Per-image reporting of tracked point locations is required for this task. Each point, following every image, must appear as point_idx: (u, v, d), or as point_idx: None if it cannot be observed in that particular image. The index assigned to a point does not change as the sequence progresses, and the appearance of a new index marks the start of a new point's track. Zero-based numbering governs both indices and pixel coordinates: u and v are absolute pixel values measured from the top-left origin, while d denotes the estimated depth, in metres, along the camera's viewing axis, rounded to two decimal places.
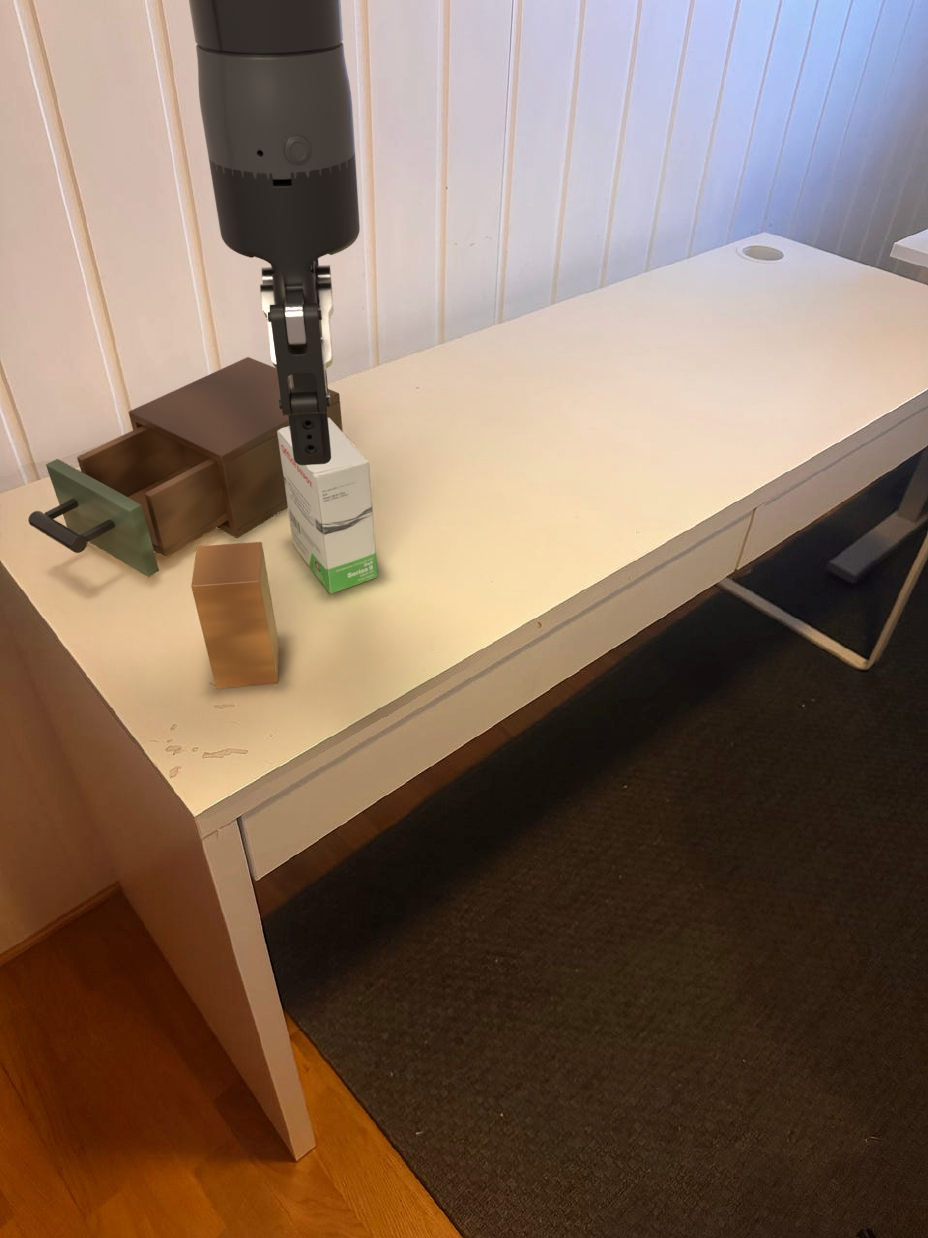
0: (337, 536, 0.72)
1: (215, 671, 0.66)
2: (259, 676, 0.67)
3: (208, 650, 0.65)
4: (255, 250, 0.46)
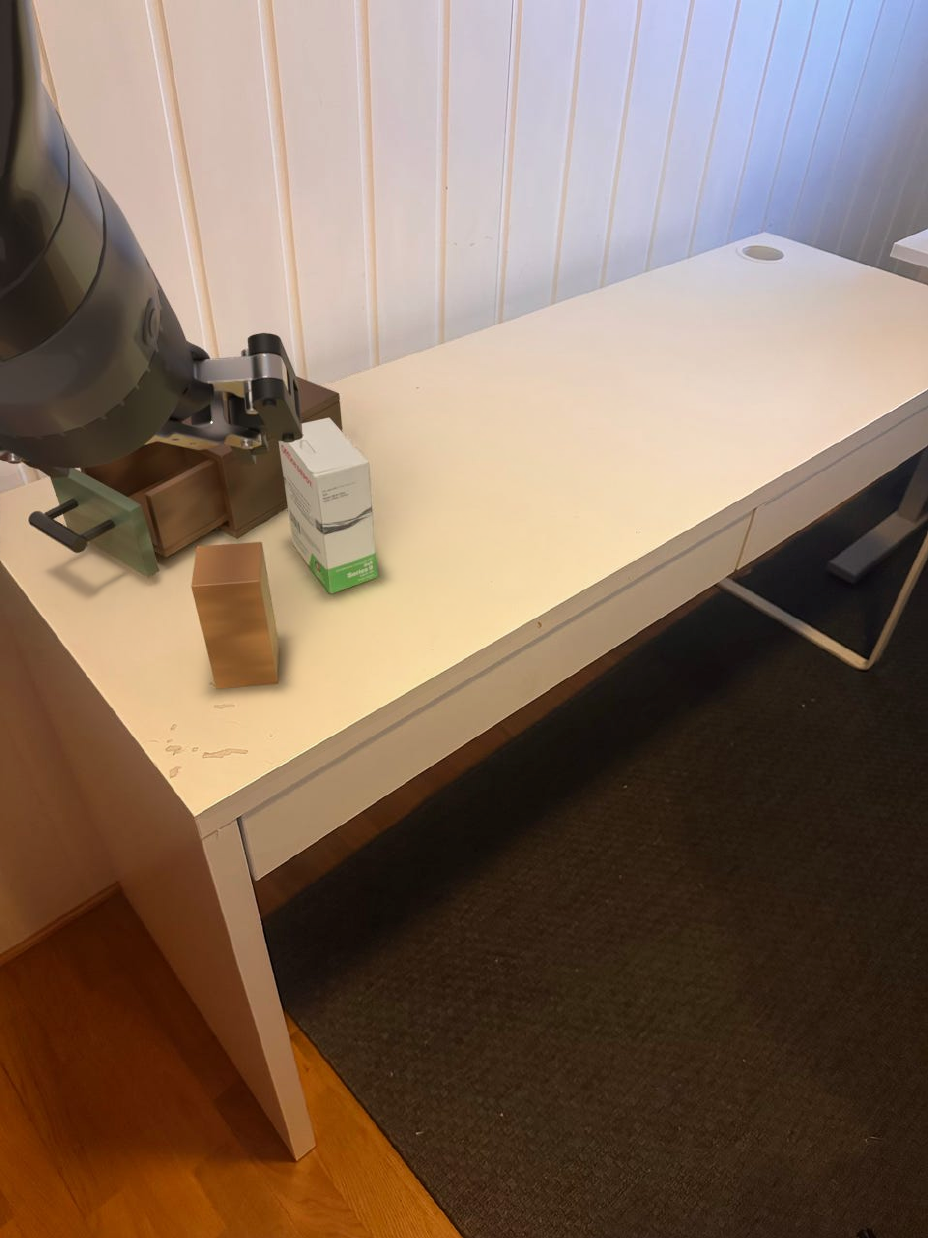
0: (337, 537, 0.72)
1: (215, 671, 0.66)
2: (259, 676, 0.67)
3: (208, 650, 0.65)
4: None
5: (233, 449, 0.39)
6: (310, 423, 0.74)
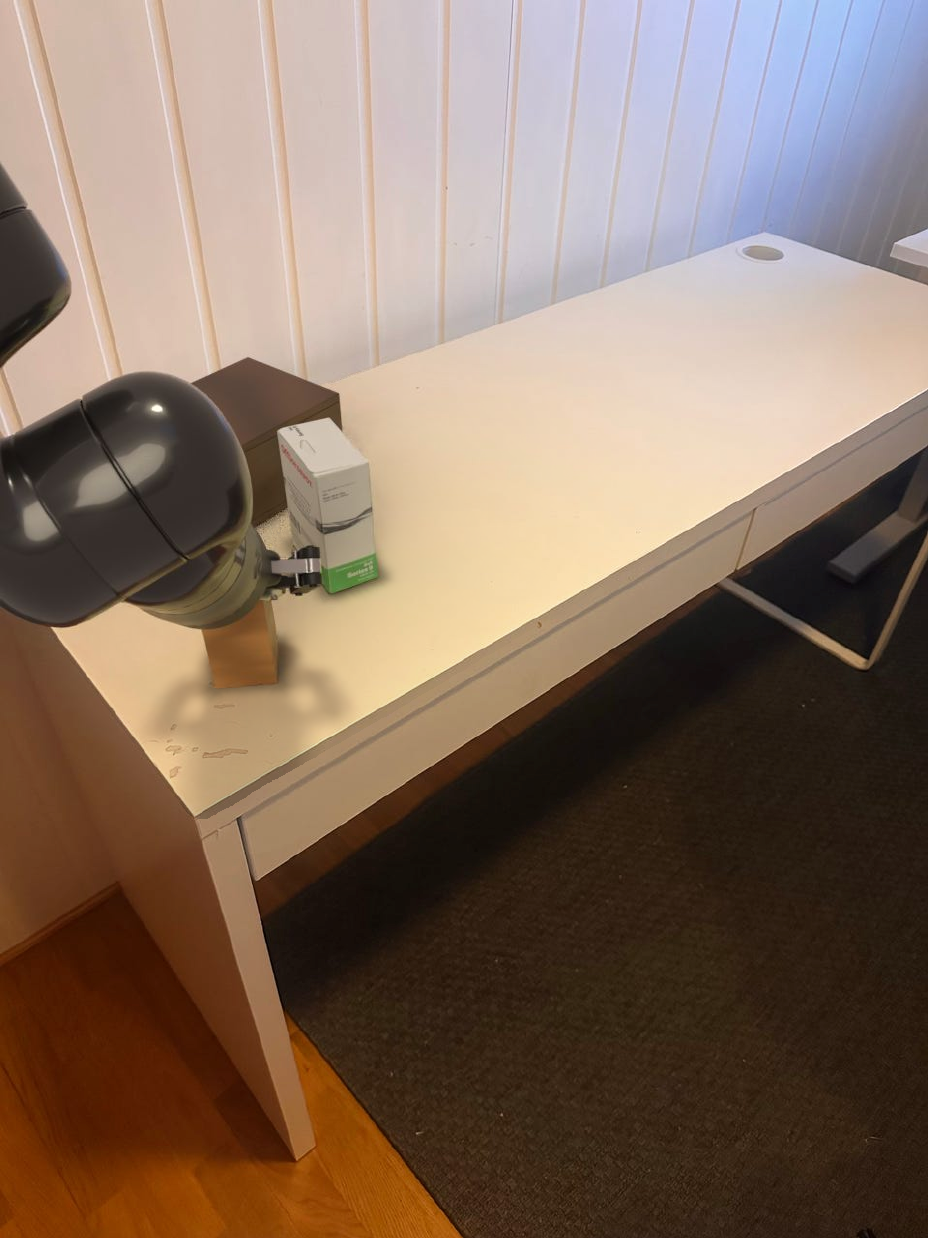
0: (337, 536, 0.72)
1: (214, 671, 0.66)
2: (258, 676, 0.67)
3: (208, 650, 0.65)
4: None
5: None
6: (310, 423, 0.74)
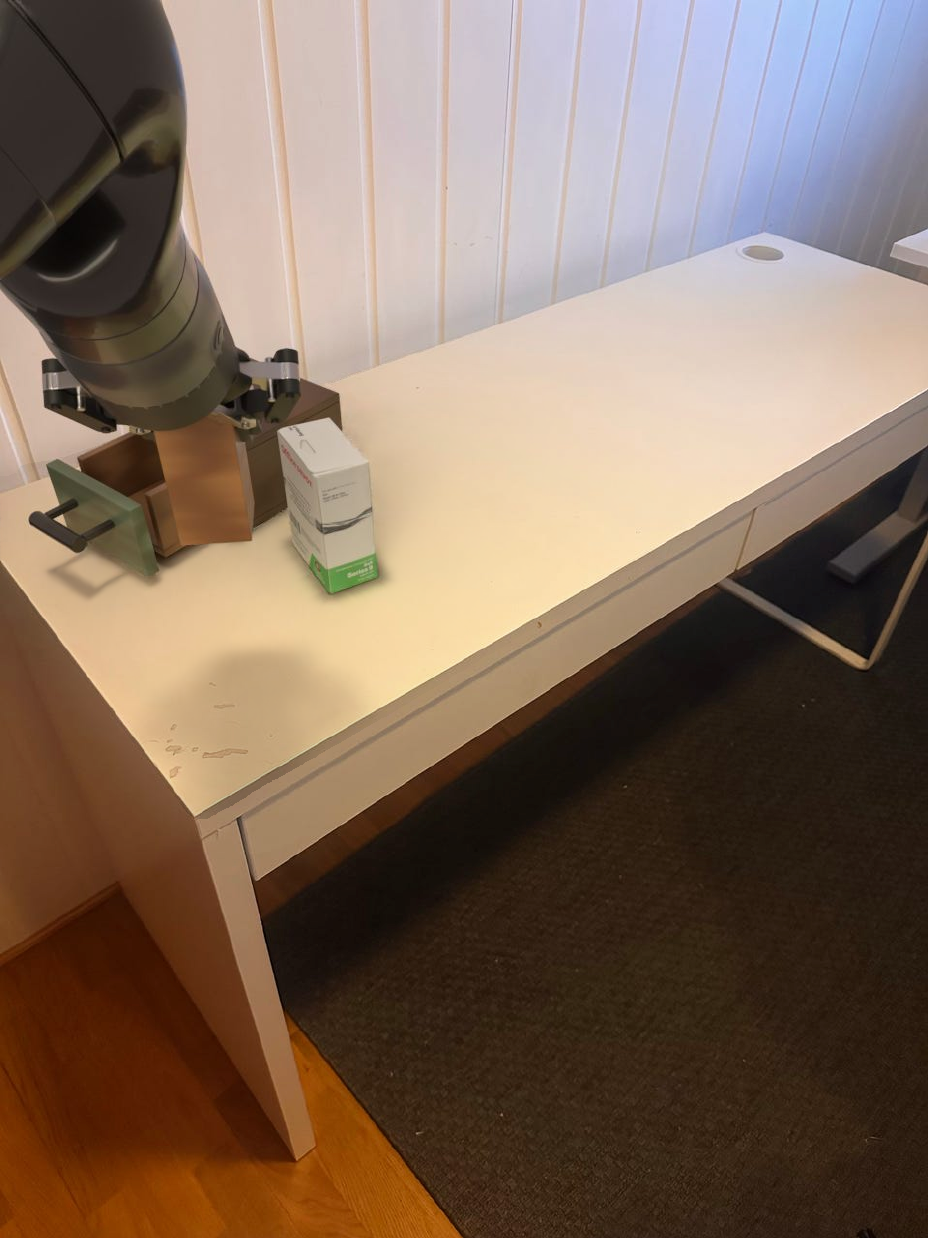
0: (337, 537, 0.72)
1: (179, 522, 0.57)
2: (230, 530, 0.58)
3: (170, 494, 0.56)
4: None
5: (236, 429, 0.55)
6: (310, 423, 0.74)
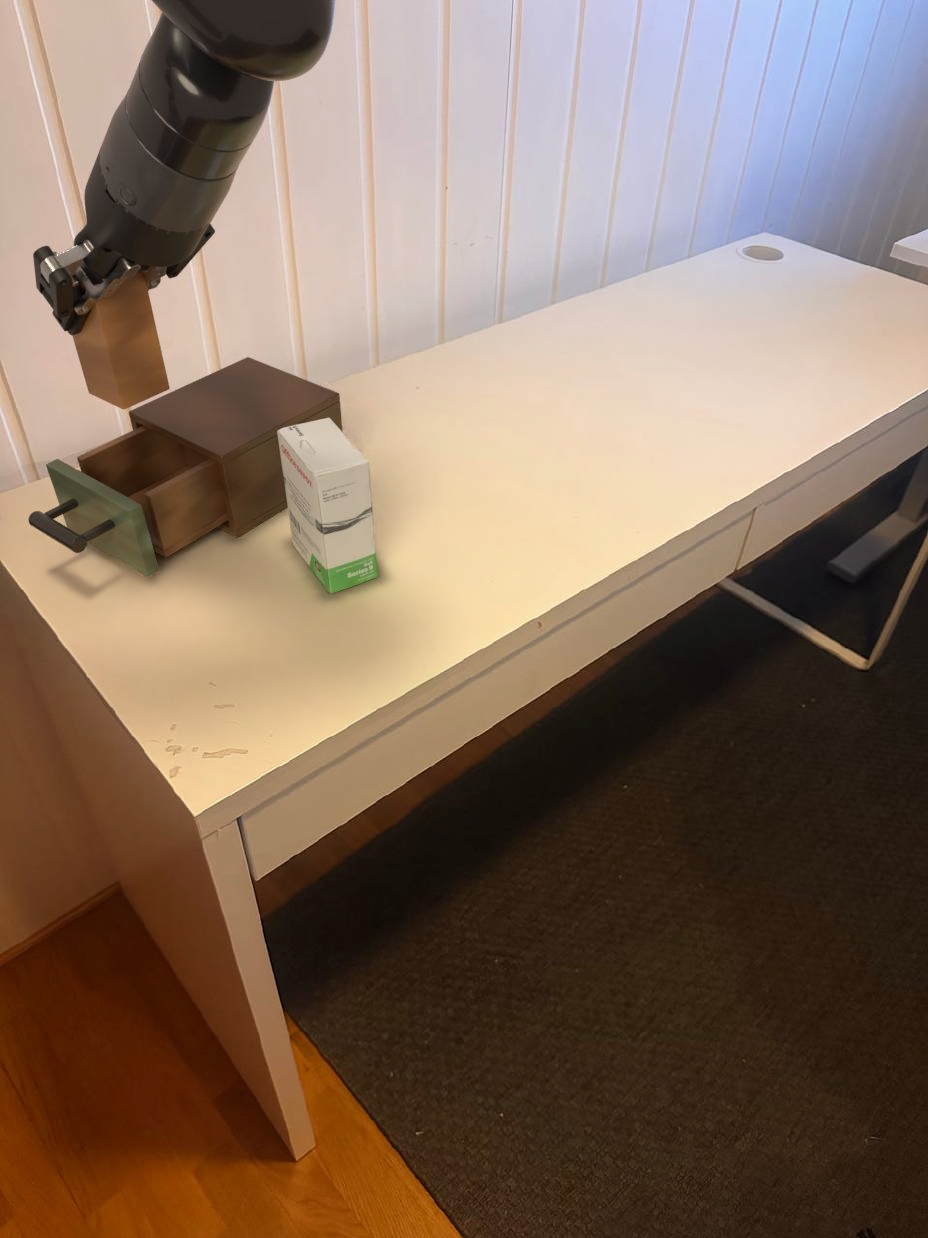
0: (337, 537, 0.72)
1: (121, 387, 0.70)
2: (155, 383, 0.72)
3: (112, 362, 0.68)
4: (85, 202, 0.58)
5: None
6: (310, 423, 0.74)
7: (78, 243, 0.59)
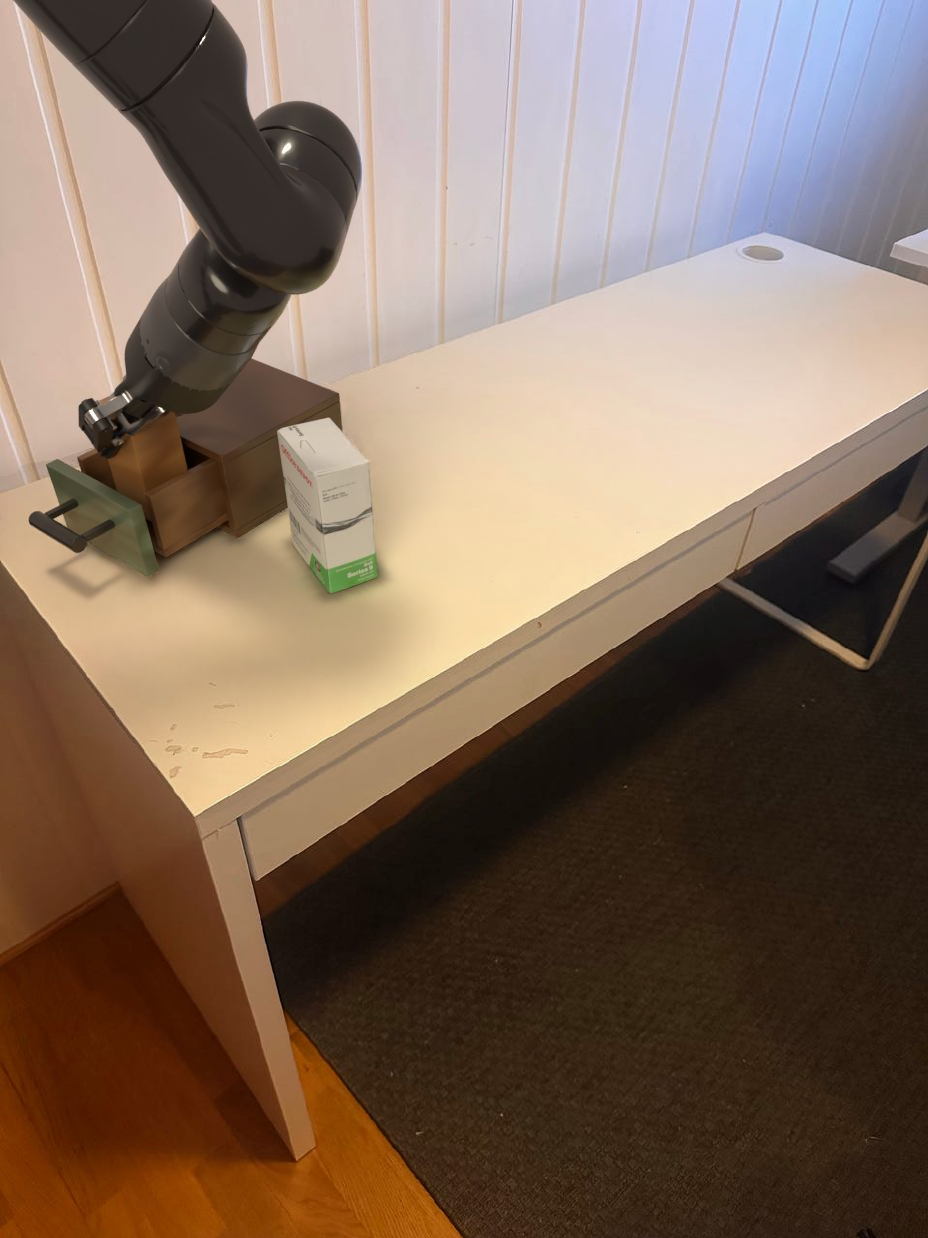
0: (337, 537, 0.72)
1: None
2: None
3: (144, 483, 0.75)
4: (125, 361, 0.65)
5: None
6: (310, 423, 0.74)
7: (118, 394, 0.66)
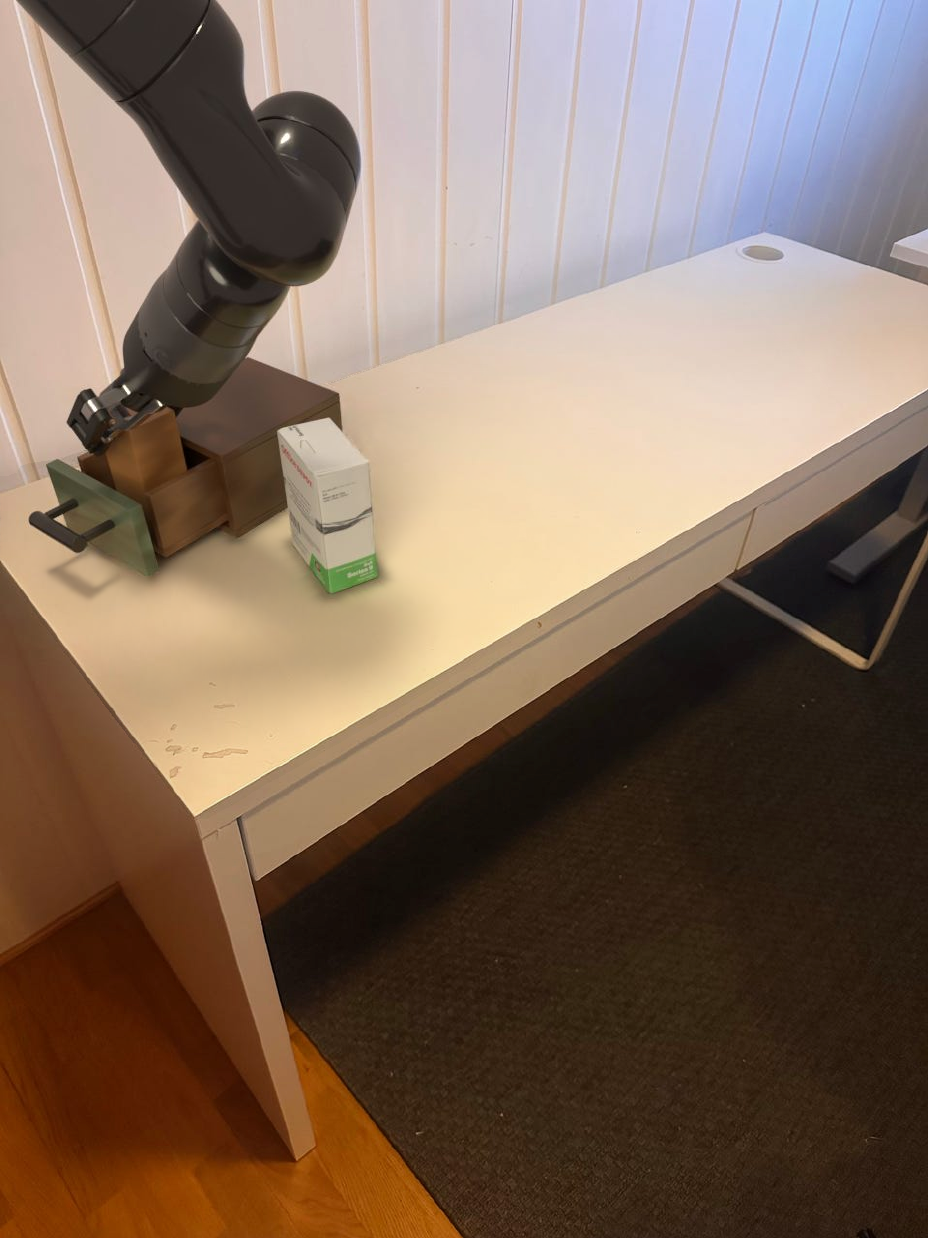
0: (337, 537, 0.72)
1: None
2: None
3: None
4: (123, 354, 0.65)
5: (179, 408, 0.76)
6: (310, 423, 0.74)
7: (116, 388, 0.66)
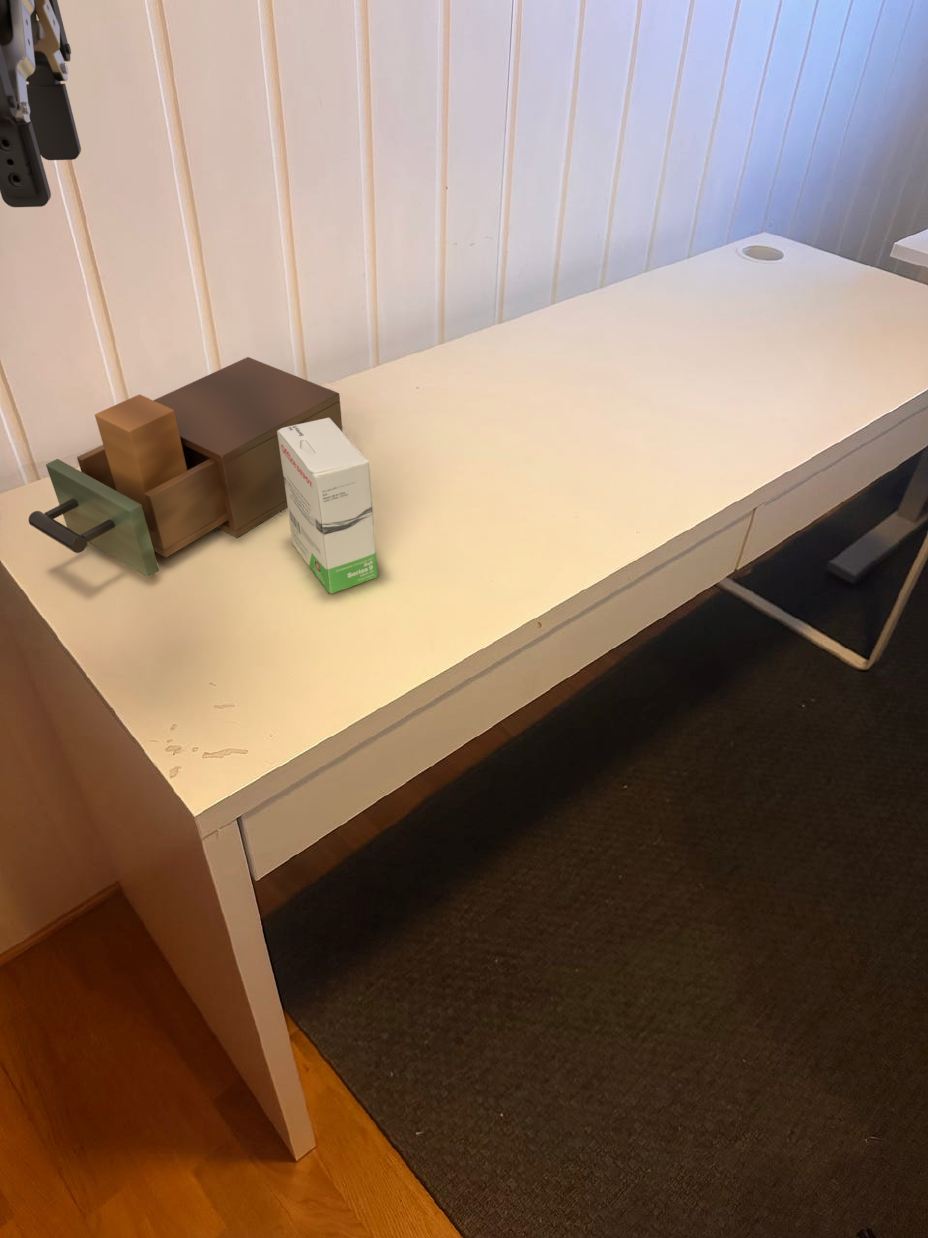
0: (337, 536, 0.72)
1: None
2: None
3: None
4: None
5: (65, 93, 0.49)
6: (310, 423, 0.74)
7: None
